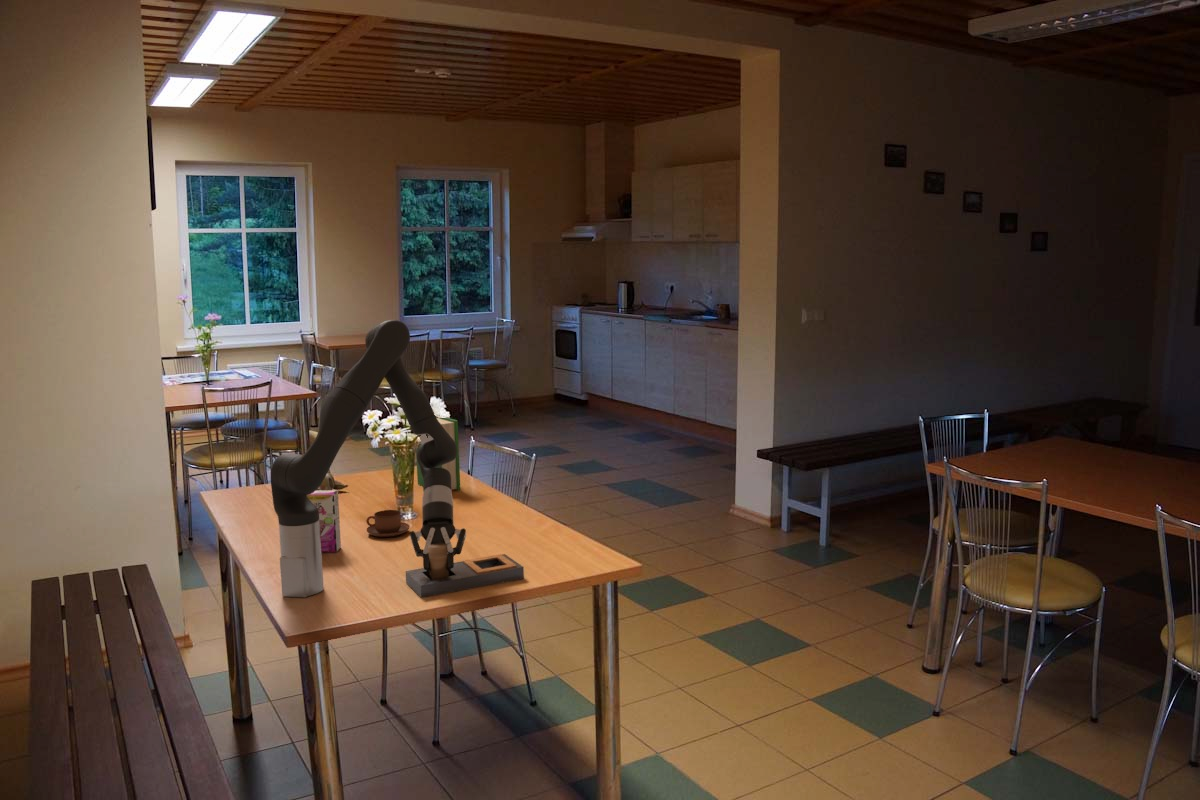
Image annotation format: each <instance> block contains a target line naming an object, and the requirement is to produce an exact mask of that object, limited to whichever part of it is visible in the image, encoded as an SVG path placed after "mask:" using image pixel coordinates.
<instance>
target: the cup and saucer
mask: <svg viewBox="0 0 1200 800" xmlns="http://www.w3.org/2000/svg"><path fill="white" fill-rule="evenodd" d="M401 515H402V514H401V511H400V510H397V509H385V510H379V511H376V512H374V514H373V515H370V516H368V517H367V518H366V525H368V527H367V528H366V532H367V533H368V534H369V535H371V536H373V537H378V538H379V537H380V538H388V537H389V538H390V537H398V536H400V535H403V534H405V533H406V532H407V531H409V529H410V525H409V523H406V522H402V519H401ZM370 519H373V520H374V523H370Z"/></svg>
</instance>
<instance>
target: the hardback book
mask: <svg viewBox="0 0 1200 800" xmlns="http://www.w3.org/2000/svg"><path fill="white" fill-rule="evenodd" d="M436 418H437V420H438V421H439V423H440V424H441V425H442V426H443V428H444V429H445V430H446V432H447V433H448V434H449V435H450V436H451V437H452V439H453V440H454V442H455V443H456V446H457V456H456V458H455V459H454V460H453V461H451V462H449V463H446V464H444V465H441V466H439V467H437V468H444V469H446V470H448V471H449V472H450V474H451V491H453V490H455V491H457V492H459V491H461V471H460V470H461V469H460V449H459V448H460V447H459V446H460V445H459V443H460V442H459V425H458V424H459V422H458V420H457V419H454V418H450V417H447V418H438V417H436ZM428 435H429V434H428ZM420 439H421V443H420V444H419V445H418V448H419V446H420V445H422V444H424V443H426V442H428V441H431V440H433V438H432V437H431V436H430V435H429V436H428V438H427V436H426V434H421V436H420ZM418 448H417V450H418ZM417 450H416V449H415V453H417ZM416 459H417V457H416ZM416 473H417V474H416V475H417V476H416V478H417V485H418V486H421V487H423V477H422V473H421V470H420V466H419V464H418V461H417V460H416Z"/></svg>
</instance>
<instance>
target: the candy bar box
mask: <svg viewBox="0 0 1200 800" xmlns="http://www.w3.org/2000/svg"><path fill="white" fill-rule="evenodd" d="M307 497H308V498H309V500H310V501H311V502H312V503H313V504H314V505H315V506H316V507H317V508H318V510H319V523H320V539H321V554H322V553H338V551H339V550H340V549H341V548H342V543H341V542H342V541H341V539H342V538H341V525H340V523H341V522H340V507H339V506H340V505H339V490H335V489H333V490H317V491H314V492H313V493H311V494H309V495H307Z"/></svg>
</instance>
